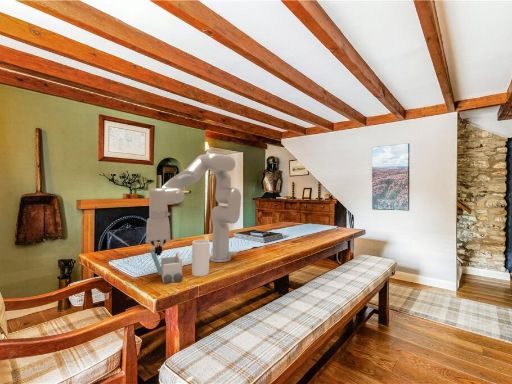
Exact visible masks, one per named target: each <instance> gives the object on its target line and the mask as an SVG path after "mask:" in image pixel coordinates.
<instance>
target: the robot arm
mask: <svg viewBox="0 0 512 384" xmlns="http://www.w3.org/2000/svg"><path fill="white" fill-rule="evenodd" d="M235 168H236V160H235V159H234V157H232V156H230V155H224V154H219V153H218V154H217V153H205V154H200V155H198V156H197V157H196V158H195V159H194V160H193V161H192V162H191V163H190V164H189V165H188V166H187V167H186V168H185V169H184V170H183V171H181V172H179V173H178V174H176V175H175V176H173V177H171V178H170V179H169V180H167V181H166V182H165V183H164V184H163V185H162V186H161V187H159V188H157V187H156V188H151V189H149V192H148V193H149V194H148V195H149V197H148V198H149V199H148V200H149V201H148V203H149V205H148V206H149V208H148V209H149V211H148V212H149V213H148V215H149V218H147V221H146V231H145V232H146V235H145V237H146V238H145V243H146V244H150V245H152V246H153V247H154V251H155V254H156V256H157V257H158V256H162V254H163V247H164V245H165V244H166V243H169V242H171V240H172V239H171V227H170V220H169V217H168V216H171V212H169V211H168V204H174V205H175V204H180V203H182V202H183V201H184V199H185V192H184V190H183V188H185V187H188V186H191V185H193V184H196V183H197V182H198V181H200V179H201V178H202V177H203V176H204V174H205V173H206V172H208V171H212V172H213V174H214V176H215V179H216V181H215V182H216V183H215V197H214V198H215V201H216V202H217V203H219V204H224V205H217V206H214V207H213V208H212V209H211V212H210V216H211V222H212V223H211V224H212V255H211V256H209V261H210V262H213V263H226V262H229V261H231V260H232V256H237V251H229V249H230V245H229V244H230V228H229V224H231V225H232V224H237V222H238V221H239V219H240V215H241V214H240V213H241V205H242V195H241V191H240V190H239V189H238V188H236V187H232V178H231V175H230V173H229V172H231V171H234V169H235ZM225 204H226V205H225ZM158 241H159V244H158V243H157V242H158Z"/></svg>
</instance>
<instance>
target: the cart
mask: <svg viewBox="0 0 512 384" xmlns="http://www.w3.org/2000/svg"><path fill="white" fill-rule="evenodd" d="M160 266H161V270H162V273H163V274H161V275H160V276H161V280H162V283H163V284H171V283H173V282H176V283H179V282H182V281H183V258H182V256H181V254H180V253H179V252H178V251H177V252H175V256H166V257H161V258H160Z"/></svg>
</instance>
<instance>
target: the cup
mask: <svg viewBox="0 0 512 384" xmlns="http://www.w3.org/2000/svg"><path fill="white" fill-rule="evenodd" d="M191 244H192V245H191V247H192V250H191V251H192V253H191V275H192V276H194V277H205V276H207V275H209V273H210V240H208V239H194V240H193V241H192V243H191Z"/></svg>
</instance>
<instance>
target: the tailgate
mask: <svg viewBox="0 0 512 384" xmlns="http://www.w3.org/2000/svg"><path fill="white" fill-rule="evenodd" d="M149 250H150V255H151V258H152V261H153V263H154V265H155V269H156V270H157V273H158V276H161V274H163V273H162V270H161V263H160V262H159V259H158V256H157V254H155V247H152V248H149Z"/></svg>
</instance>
